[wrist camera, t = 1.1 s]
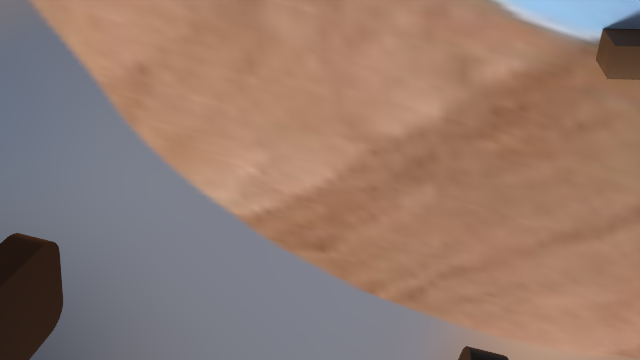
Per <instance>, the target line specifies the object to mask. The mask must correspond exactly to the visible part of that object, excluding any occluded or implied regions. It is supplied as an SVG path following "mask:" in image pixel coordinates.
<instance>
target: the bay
mask: <svg viewBox="0 0 640 360" xmlns="http://www.w3.org/2000/svg"><path fill="white" fill-rule="evenodd" d="M596 61H597V62H598V64H599V66H600V67H601V69H602V71H603V72H604V74H605V76H606V77H607V79H630V80H640V29H603V31H602V35H601V40H600V44H599V49H598V53H597V57H596Z"/></svg>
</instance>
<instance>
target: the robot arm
mask: <svg viewBox="0 0 640 360" xmlns="http://www.w3.org/2000/svg"><path fill="white" fill-rule="evenodd" d="M59 253H60V252H59V247H58V245H57V244H56V243H55V242H52V241H48V240H44V239H40V238H36V237H31V236H28V235H23V234H19V233H15V234H12V235H10V236H9V237H7V238H6V239H5V240H4V241H3V242H2V243H0V360H29V359H30V358H31V357H32V356H33V354H34V353H35V352H36V351H37V350H38V348H39V347H40V346H41V345H42V343H43V342H44V341H45V340H46V339H47V337H48V336H49V335H50V334H51V332H52V331H53V330H54V328H55V326H56V324H57V322H58V320H59V318H60V314H61V312H62V307H63V293H62V279H61V265H60V254H59ZM458 360H508V358H507V357H506V356H504V355H500V354H496V353H492V352H488V351H484V350H480V349H475V348H471V347H468V346H466V347H465V348H464V349H463V350H462V352H461V354H460V357H459V359H458Z"/></svg>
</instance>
